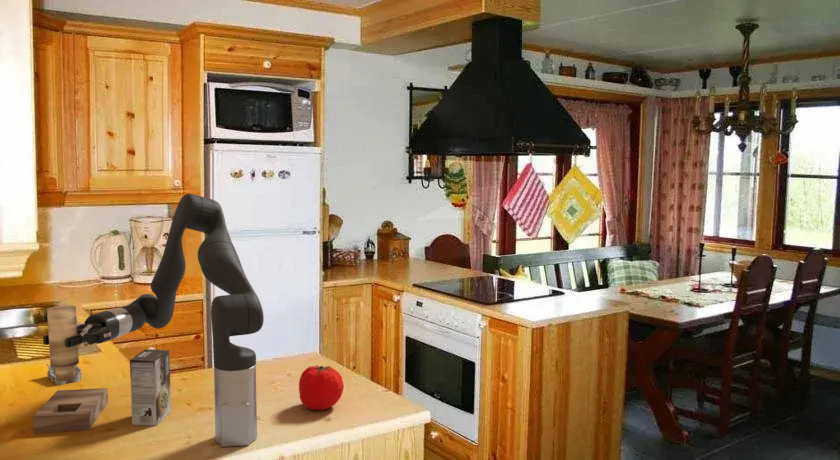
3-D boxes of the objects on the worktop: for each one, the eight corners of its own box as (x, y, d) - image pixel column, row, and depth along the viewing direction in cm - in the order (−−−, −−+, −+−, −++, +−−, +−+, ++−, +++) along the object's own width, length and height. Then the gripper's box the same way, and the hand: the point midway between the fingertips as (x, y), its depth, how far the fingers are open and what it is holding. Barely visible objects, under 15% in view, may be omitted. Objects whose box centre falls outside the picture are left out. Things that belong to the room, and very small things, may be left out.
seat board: (89, 429, 164) (88, 413, 163) (33, 433, 161) (32, 416, 161) (108, 402, 181) (107, 387, 181) (57, 405, 179) (57, 390, 179)
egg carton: (45, 377, 202) (44, 363, 202) (73, 372, 207) (73, 359, 206) (54, 387, 194) (54, 372, 193) (84, 381, 199) (83, 367, 198)
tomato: (288, 407, 180) (287, 365, 178) (322, 396, 188) (322, 355, 187) (319, 419, 172) (318, 375, 171) (353, 406, 180) (353, 364, 179)
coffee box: (146, 411, 176) (144, 348, 174) (172, 412, 176) (170, 349, 174) (130, 425, 167) (128, 359, 165) (157, 426, 167) (155, 359, 165)
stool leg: (75, 381, 164) (71, 310, 161) (47, 383, 162) (42, 311, 160) (83, 373, 170) (79, 304, 167) (56, 374, 168) (51, 305, 166)
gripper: (85, 308, 180) (30, 323, 164) (131, 313, 176) (78, 329, 160) (87, 336, 181) (32, 354, 165) (132, 342, 176) (80, 361, 161)
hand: (55, 341), depth 163 cm, fingers closed on stool leg, 6 cm apart
